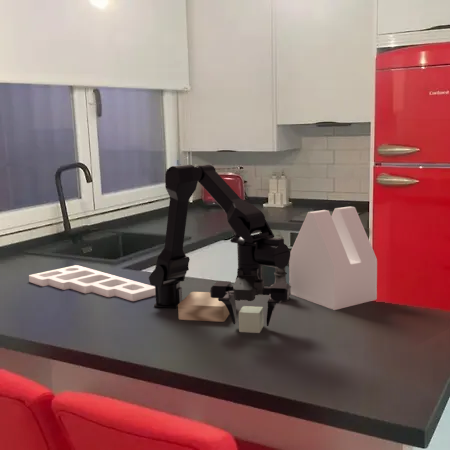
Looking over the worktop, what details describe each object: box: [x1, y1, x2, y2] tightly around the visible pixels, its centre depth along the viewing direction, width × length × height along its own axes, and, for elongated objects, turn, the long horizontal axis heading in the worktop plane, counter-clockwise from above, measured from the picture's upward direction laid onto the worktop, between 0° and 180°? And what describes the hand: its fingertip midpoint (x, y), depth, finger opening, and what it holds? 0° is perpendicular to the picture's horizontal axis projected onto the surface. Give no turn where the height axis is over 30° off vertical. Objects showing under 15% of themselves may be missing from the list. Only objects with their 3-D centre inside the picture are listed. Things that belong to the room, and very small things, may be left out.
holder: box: [28, 264, 156, 302], centre depth 194 cm, size 45×18×3 cm, turn 44°
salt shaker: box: [269, 267, 291, 302], centre depth 175 cm, size 6×6×12 cm
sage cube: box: [238, 305, 264, 334], centre depth 152 cm, size 5×5×5 cm
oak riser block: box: [177, 291, 230, 323], centre depth 165 cm, size 12×12×4 cm
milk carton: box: [288, 206, 378, 311], centre depth 175 cm, size 19×15×25 cm
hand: (251, 324), depth 152 cm, fingers open, 8 cm apart
